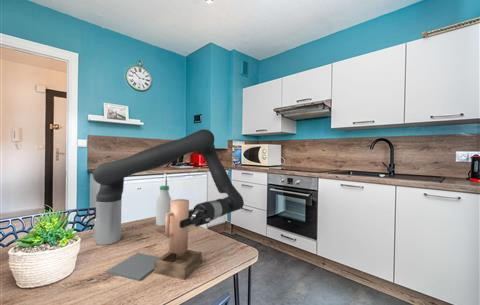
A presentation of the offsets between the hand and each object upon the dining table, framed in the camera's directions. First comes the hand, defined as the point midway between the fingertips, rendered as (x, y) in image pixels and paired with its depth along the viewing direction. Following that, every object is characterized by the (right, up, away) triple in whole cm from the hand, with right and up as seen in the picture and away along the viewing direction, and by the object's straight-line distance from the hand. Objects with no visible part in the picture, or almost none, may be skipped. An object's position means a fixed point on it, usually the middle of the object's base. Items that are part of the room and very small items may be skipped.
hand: (173, 222), depth 69 cm
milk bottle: (-19, -15, +44) cm, 51 cm away
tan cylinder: (0, -10, +1) cm, 10 cm away
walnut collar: (+1, -16, +2) cm, 16 cm away
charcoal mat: (-12, -15, +2) cm, 20 cm away
